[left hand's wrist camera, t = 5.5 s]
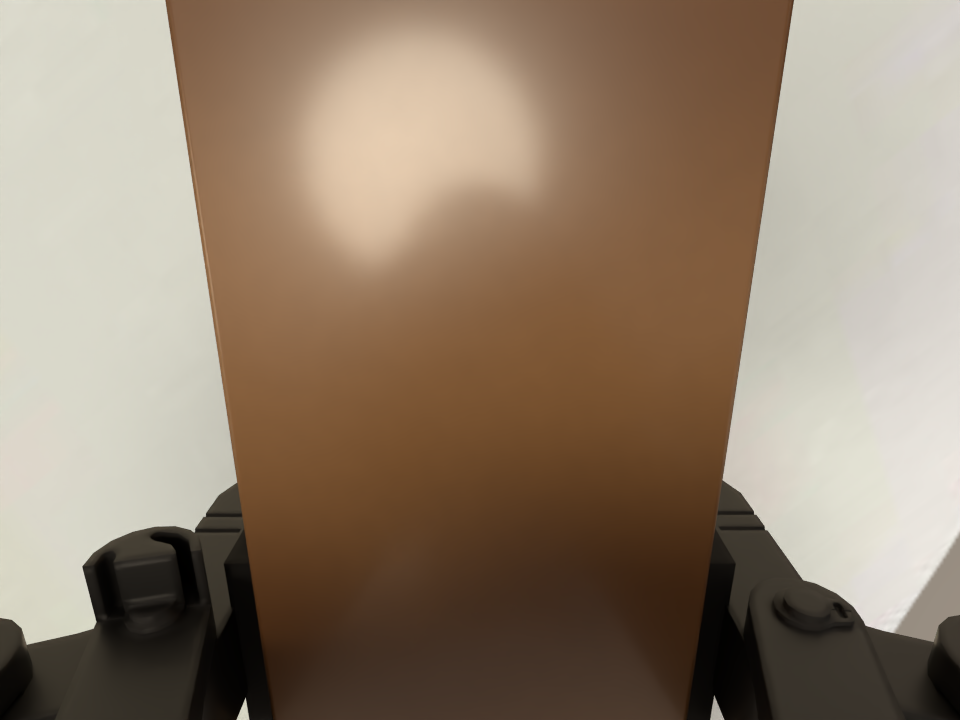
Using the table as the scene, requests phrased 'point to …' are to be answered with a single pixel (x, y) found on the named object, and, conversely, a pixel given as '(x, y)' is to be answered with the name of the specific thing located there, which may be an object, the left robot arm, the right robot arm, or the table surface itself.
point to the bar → (479, 335)
